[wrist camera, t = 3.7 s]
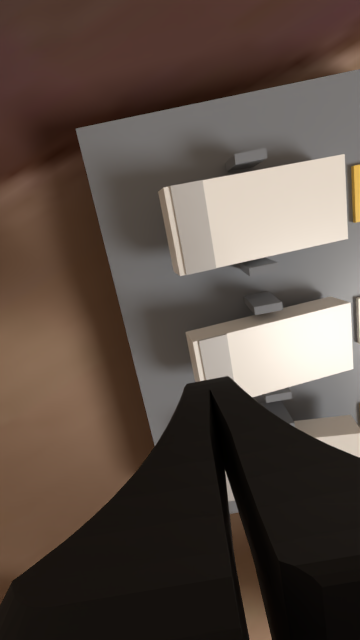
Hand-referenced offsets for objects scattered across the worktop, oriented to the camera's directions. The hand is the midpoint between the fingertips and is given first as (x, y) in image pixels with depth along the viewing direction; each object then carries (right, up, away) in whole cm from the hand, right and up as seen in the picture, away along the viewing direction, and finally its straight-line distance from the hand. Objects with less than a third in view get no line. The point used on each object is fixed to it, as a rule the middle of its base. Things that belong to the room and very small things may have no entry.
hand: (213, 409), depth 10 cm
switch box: (+3, +3, +7) cm, 8 cm away
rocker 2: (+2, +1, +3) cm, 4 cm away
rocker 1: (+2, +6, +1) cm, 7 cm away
